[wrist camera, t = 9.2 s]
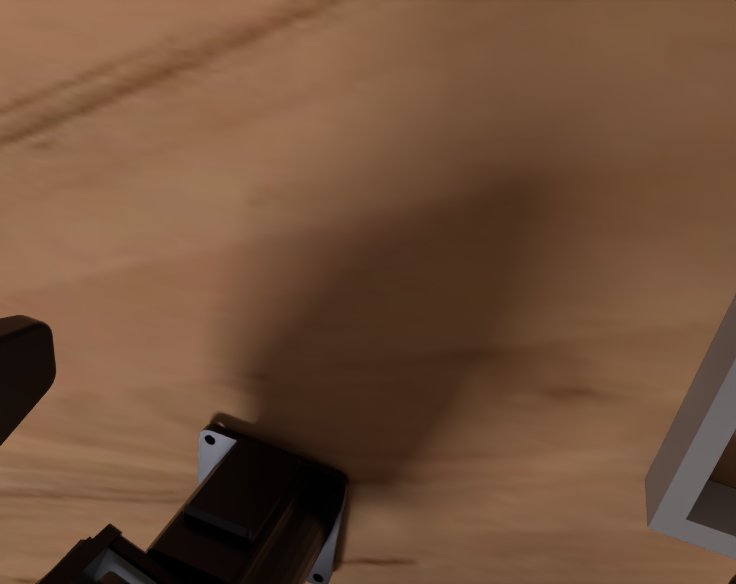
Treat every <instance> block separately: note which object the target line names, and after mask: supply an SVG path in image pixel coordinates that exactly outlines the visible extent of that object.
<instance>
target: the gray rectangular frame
mask: <svg viewBox="0 0 736 584" xmlns="http://www.w3.org/2000/svg"><path fill="white" fill-rule="evenodd" d="M735 429H736V294H735V296H734V298H733V301H732V303H731V305H730V307H729V309H728V311H727V313H726V315H725V317H724V319H723V321H722V323H721V325H720V327H719V329H718V331H717V333H716V335H715V337H714V339H713V341H712V343H711V346H710V348H709V350H708V352H707V354H706V356H705V358H704V360H703V362H702V364H701V366H700V368H699V370H698V372H697V374H696V376H695V378H694V380H693V382H692V384H691V386H690V389H689V391H688V393H687V395H686V397H685V399H684V401H683V403H682V405H681V407H680V409H679V411H678V413H677V415H676V417H675V419H674V421H673V423H672V425H671V427H670V429H669V431H668V434H667V436H666V438H665V440H664V442H663V444H662V446H661V448H660V450H659V452H658V454H657V456H656V458H655V460H654V462H653V464H652V466H651V468H650V470H649V472H648V474H647V476H646V479H645V489H646V508H647V527H648V529H651V530H654V531H657V532H659V533H662V534H665V535H668V536H671V537H674V538H676V539H679V540H682V541H685V542H688V543H691V544H693V545H696V546H699V547H702V548H705V549H708V550H710V551H713V552H716V553H719V554H722V555H725V556H727V557H730V558H733V559H736V489H735V488H732V487H729V486H726V485H723V484H720V483H717V482H714V481H711V480H708V478H709V476H710V475H711V473H712V471H713V469H714V467H715V466H716V464H717V462H718V460H719V458H720V457H721V455H722V453H723V451H724V449H725V447H726V446H727V444H728V442H729V440H730V438H731V437H732V435H733V433H734V431H735Z"/></svg>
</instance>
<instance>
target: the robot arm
mask: <svg viewBox="0 0 736 584" xmlns="http://www.w3.org/2000/svg"><path fill="white" fill-rule="evenodd" d="M55 376H56V363H55V354H54V345H53V336H52V330H51V329H50V327H49V325H47V324H46V323H44V322H42V321H39V320H36V319H34V318H31V317H28V316H24V315H16V316H10V317H5V318H0V446H1V445H2V444H3V442H4V441H5V440H6V439H7V438H8V437H9V435H10V434H11V433H12V432H13V431H14V430H15V428H16V427H17V426H18V425H19V424H20V423H21V421H22V420H23V419H24V418H25V417H26V416H27V414H28V413H29V412H30V411H31V410H32V409H33V407H34V406H35V405H36V404H37V403H38V402H39V400H40V399H41V398H42V397H43V396H44V395H45V393H46V392H47V391H48V390H49V388H50V387H51V385H52V384H53V382H54V379H55ZM333 482H335V483H337V484H338V485H336V484H334V483H333ZM348 486H349V480H348V478H347V476H346V475H345V474H344V473H342V472H340V471H338V470H335V469H333V468H330V467H327V466H325V465H322V464H319V463H317V462H314V461H311V460H309V459H306V458H303V457H301V456H298V455H295V454H292V453H290V452H287V451H284V450H282V449H279V448H276V447H274V446H271V445H268V444H266V443H263V442H260V441H258V440H255V439H252V438H250V437H247V436H244V435H241V434H239V433H236V432H233V431H231V430H228V429H225V428H223V427H220V426H217V425H214V424H209V425H207V426H206V427H205V428H204V429H203V430H202V431H201V432H200V435H199V466H198V487H197V489H196V490H195V491H194V492H193V493H192V495H191V496H190V497H189V498H188V500H187V501H186V502H185V503H184V504H183V506H182V507H181V508H180V509H179V511H178V512H177V513H176V514H175V515H174V517H173V518H172V519H171V520H170V522H169V523H168V524H167V525H166V526H165V528H164V529H163V530H162V531H161V533H160V534H159V535H158V536H157V537H156V539H155V540H154V541H153V542H152V544H151V545H150V546H149V547H148V548H147V550H146V551H145V552H144V551H143V550H141V549H140V548H139V547H137V546H136V545H134V544H133V543H132V542H130V541H129V540H127V539H126V538H125V537H123V536H122V535H121V534H122V532H121V531H120V530H119V529H117V528H116V527H114V526H113V525H112V524H108V525H107V526H106V527H105V528H104V529H103V530H102V531H101V532H100V533H99V534H98V535H96V536H95V537H94V538H93V539H92V538H91V537H89V538H87V539H86V540H80V541H79V542H78V543H77V544H76V545H75V546H74V547H73V548H72V549H71V550H70V551H69V552H68V553H67V554H66V556H65V557H64V558H63V559H62V560H61V561H60V562H59V563H58V564H57V565H56V566H55V567H54V568H53V569H52V570H51V571H50V572H49V573H48V574H46V575H45V576H44V577H43V578H42V579H41V580H39V581H38V582H37V583H35V584H305V582H306V581H307V582H310V583H312V584H328V583H329V581H330V579H331V577H332V573H333V568H334V563H335V557H336V552H337V546H338V541H339V535H340V530H341V524H342V519H343V513H344V508H345V503H346V497H347V492H348ZM728 584H736V575H734V576H733V578H732V579H731V580H730V582H729V583H728Z"/></svg>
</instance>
